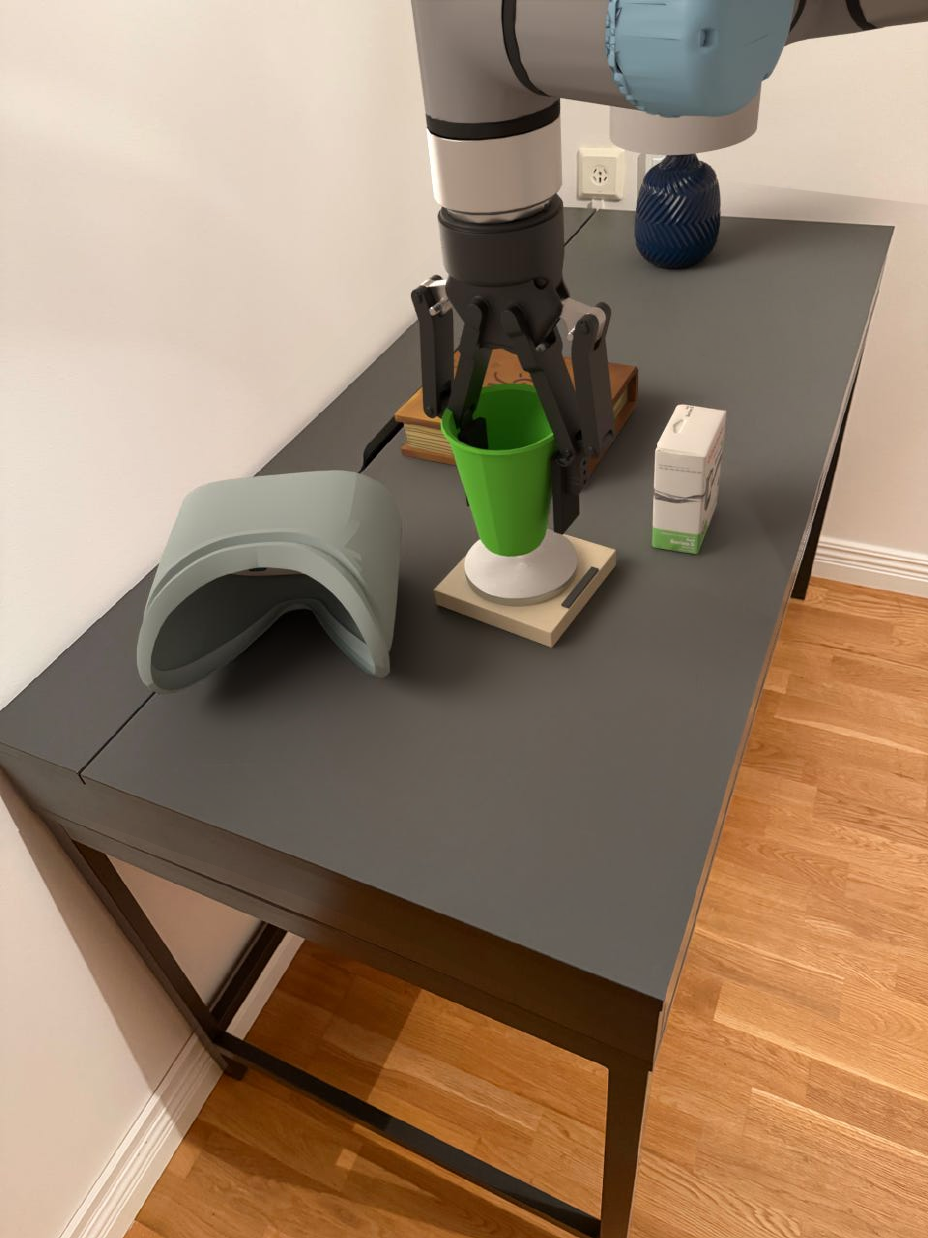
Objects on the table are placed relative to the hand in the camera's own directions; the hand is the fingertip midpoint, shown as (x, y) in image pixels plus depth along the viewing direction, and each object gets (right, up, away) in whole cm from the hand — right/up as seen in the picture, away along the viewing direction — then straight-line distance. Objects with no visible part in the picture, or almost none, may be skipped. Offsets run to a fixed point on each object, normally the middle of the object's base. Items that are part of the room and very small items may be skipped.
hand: (522, 509), depth 69 cm
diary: (+2, +14, +40) cm, 43 cm away
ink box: (+18, +1, +24) cm, 30 cm away
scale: (+2, -5, +20) cm, 20 cm away
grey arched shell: (-21, -11, +18) cm, 29 cm away
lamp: (+28, +48, +71) cm, 90 cm away
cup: (-1, -2, +2) cm, 3 cm away
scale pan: (+1, -4, +18) cm, 19 cm away
